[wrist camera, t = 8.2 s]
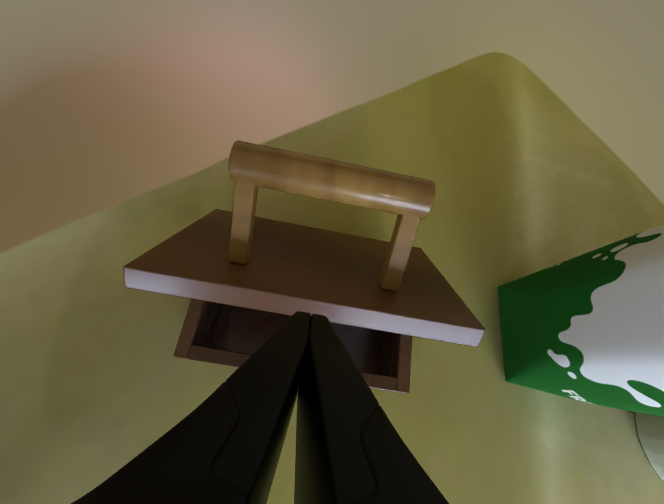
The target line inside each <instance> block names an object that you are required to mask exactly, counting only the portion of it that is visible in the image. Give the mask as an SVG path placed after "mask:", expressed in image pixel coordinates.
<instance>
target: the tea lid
mask: <svg viewBox="0 0 664 504" xmlns="http://www.w3.org/2000/svg"><path fill="white" fill-rule="evenodd" d="M229 175H230V179H231V180H232V181H233V182H235V189H234V201H233V212H229V211H223V210H218V209H215V210H214V211H212V212H210V213H209V214H207V215H206V216H204V217H202V218H201V219H199V220H198V221H196V222H194V223H193V224H191V225H189V226H188V227H186V228H185V229H183V230H181V231H180V232H178V233H177V234H175V235H173V236H172V237H170V238H168V239H167V240H165V241H164V242H162V243H160V244H159V245H157V246H156V247H154V248H152V249H151V250H149V251H147V252H146V253H144V254H143V255H141V256H139V257H138V258H136V259H135V260H133V261H131V262H130V263H128V264H126V265H125V266H124V267H123V271H124V286H125V287H126V288H132V289H138V290H144V291H150V292H156V293H162V294H168V295H173V296H179V297H185V298H191V299H197V300H203V301H209V302H215V303H220V304H226V305H232V306H238V307H244V308H250V309H256V310H262V311H268V312H273V313H279V314H285V315H291V316H292V315H293V314H294V313H295V312H297V311H301V312H307V313H310V314H311V315H312V314H318V315H324V316H326V317H327V318H328V320H329V322H332V323H338V324H344V325H350V326H356V327H362V328H368V329H373V330H379V331H385V332H391V333H397V334H403V335H409V336H415V337H420V338H426V339H432V340H438V341H444V342H450V343H456V344H462V345H468V346H473V347H478V346H479V343H480V341H481V339H482V337H483V334H484V332H485V328H484V327H483V326H482V324H481V323H480V322H479V321H478V319H477V318H476V317H475V316H474V314H473V313H472V312H471V311H470V309H469V308H468V307H467V306H466V304H465V303H464V302H463V301H462V299H461V298H460V297H459V296H458V294H457V293H456V292H455V291H454V289H453V288H452V287H451V286H450V284H449V283H448V282H447V281H446V279H445V278H444V277H443V276H442V274H441V273H440V272H439V271H438V269H437V268H436V267H435V266H434V264H433V263H432V262H431V260H430V259H429V258H428V257H427V255H426V254H425V253H424V252H423V250H422V249H421V248H417V247H412V245H413V242H414V238H415V235H416V232H417V229H418V225H419V222H420V219H424V218H426V217H427V215H428V214H429V212H430V210H431V208H432V206H433V203H434V199H435V191H436V188H435V183H434V182H433V181H431V180H427V179H422V178H417V177H412V176H407V175H402V174H398V173H393V172H388V171H383V170H378V169H373V168H369V167H364V166H359V165H354V164H349V163H344V162H340V161H335V160H330V159H325V158H320V157H315V156H311V155H306V154H301V153H296V152H291V151H286V150H282V149H277V148H272V147H267V146H262V145H257V144H252V143H248V142H243V141H236V142H235V143H234V144H233V147H232V149H231V153H230V158H229ZM258 187H263V188H268V189H273V190H278V191H283V192H288V193H293V194H298V195H303V196H308V197H313V198H318V199H323V200H329V201H334V202H339V203H344V204H349V205H354V206H359V207H364V208H369V209H374V210H379V211H384V212H389V213H394V214H398V216H397V220H396V223H395V227H394V230H393V234H392V238H391V241H390V242H386V241H381V240H375V239H370V238H365V237H360V236H354V235H349V234H344V233H339V232H333V231H328V230H323V229H318V228H312V227H307V226H302V225H297V224H291V223H286V222H281V221H276V220H271V219H265V218H260V217H255V212H256V203H257V194H258Z"/></svg>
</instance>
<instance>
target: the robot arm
mask: <svg viewBox="0 0 664 504" xmlns="http://www.w3.org/2000/svg"><path fill="white" fill-rule="evenodd" d="M298 388H299V389H298ZM297 392H298V399H297V427H296V460H295V493H294V504H449V503H448V502H447V500H446V499H445V498H444V496H443V495H442V494H441V492H440V491H439V490H438V488H437V487H436V486H435V484H434V483H433V482H432V480H431V479H430V478H429V476H428V475H427V474H426V472H425V471H424V470H423V468H422V467H421V466H420V464H419V463H418V462H417V460H416V459H415V457H414V456H413V455H412V453H411V452H410V450H409V449H408V448H407V446H406V445H405V443H404V442H403V441H402V439H401V438H400V436H399V435H398V433H397V431H396V430H395V428H394V427H393V425H392V424H391V422H390V421H389V419H388V417H387V416H386V414H385V412H384V411H383V409H382V407H381V406H379V403H378V401H377V399H376V398H375V396H374V394H373V393H372V391H371V389H370V388H369V386H368V385H367V383H366V381H365V380H364V378H363V376H362V375H361V373H360V371H359V370H358V368H357V366H356V365H355V363H354V361H353V360H352V358H351V356H350V355H349V353H348V351H347V350H346V348H345V346H344V345H343V343H342V342H341V340H340V338H339V337H338V335H337V333H336V332H335V330H334V328H333V327H332V325H331V323H330V322H329V320H328V318H327V317H326V316H324V315H318V314H312V315H311V314H310V313H307V312H301V311H297V312H295V313H294V314H293V315H292V316H291V317H290V318H289V319H288V320H287V321H286V322H285V323H284V324H283V325H282V326H281V327H280V328H279V329H278V330H277V331H276V332H275V333H274V334H273V335H272V336H271V337H270V338H269V339H268V340H267V341H266V342H265V343H264V344H263V345H262V346H261V347H259V348H258V349H257V350H256V351H255V352H254V353H253V354H252V355H251V356H250V357H249V358H248V359H247V360H246V361H245V362H244V363H243V364H242V365H241V366H240V367H239V368H238V369H237V370H236V371H235V372H234V373H233V374H232V375H231V376H230V377H229V378H228V379H227V380H226V382H224V383H223V384H222V385H221V386H220V387H219V388H217V389H216V390H215V391H214V392H213V393H212V394H211V395H210V396H209V397H208V398H207V399H206V400H205V401H204V402H203V403H202V404H200V405H199V406H198V407H197V408H196V409H195V410H194V411H193V412H191V413H190V414H189V415H188V416H187V417H185V418H184V419H183V420H182V421H180V422H179V423H178V424H177V425H176V426H174V427H173V428H172V429H171V430H169V431H168V432H167V433H166V434H164V435H163V436H162V437H160V438H159V439H158V440H157V441H155V442H154V443H153V444H152V445H150V446H149V447H148V448H146V449H145V450H144V451H143V452H141V453H140V454H139V455H138V456H136V457H135V458H134V459H132V460H131V461H130V462H129V463H127V464H126V465H125V466H124V467H122V468H121V469H120V470H118V471H117V472H116V473H115V474H113V475H112V476H111V477H109V478H108V479H107V480H106V481H104V482H103V483H102V484H100V485H99V486H98V487H96V488H95V489H93V490H92V491H90V492H89V493H87V494H86V495H84V496H83V497H81V498H79V499H78V500H76V501H74V502H73V503H71V504H266V503H267V499H268V496H269V492H270V489H271V485H272V482H273V478H274V475H275V471H276V468H277V464H278V461H279V457H280V454H281V450H282V447H283V443H284V439H285V436H286V432H287V429H288V425H289V422H290V418H291V415H292V411H293V408H294V404H295V401H296V397H297Z"/></svg>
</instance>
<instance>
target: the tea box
mask: <svg viewBox="0 0 664 504" xmlns="http://www.w3.org/2000/svg"><path fill="white" fill-rule="evenodd" d="M290 317H291V315H285V314H279V313H273V312H268V311H262V310H256V309H250V308H244V307H238V306H232V305H226V304H220V303H215V302H209V301H203V300H197V299H191V302H190V305H189V309H188V312H187V315H186V318H185V321H184V324H183V327H182V330H181V333H180V337H179V340H178V343H177V346H176V349H175V352H174V355H173V356H174V357H178V358H184V359H190V360H197V361H203V362H210V363H216V364H222V365H229V366H235V367H240V366H241V365H242V364H243V363H244V362H245V361H246V360H247V359H248V358H249V357H250V356H251V355H252V354H253V353H254V352H255V351H256V350H257V349H258V348H259V347H261V346H262V345H263V344H264V343H265V342H266V341H267V340H268V339H269V338H270V337H271V336H272V335H273V334H274V333H275V332H276V331H277V330H278V329H279V328H280V327H281V326H282V325H283V324H284V323H285V322H286V321H287V320H288V319H289V318H290ZM330 323H331V325H332V327H333V328H334V330H335V332H336V333H337V335H338V337H339V338H340V340H341V342H342V343H343V345H344V346H345V348H346V350H347V351H348V353H349V355H350V356H351V358H352V360H353V361H354V363H355V365H356V366H357V368H358V370H359V371H360V373H361V375H362V376H363V378H364V380H365V381H366V383H367V385H368V386H369V388H376V389H382V390H388V391H395V392H401V393H409V386H410V366H411V346H412V336H409V335H403V334H397V333H391V332H385V331H379V330H373V329H368V328H362V327H356V326H350V325H344V324H338V323H332V322H330Z"/></svg>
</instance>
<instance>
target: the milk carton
mask: <svg viewBox="0 0 664 504" xmlns="http://www.w3.org/2000/svg"><path fill="white" fill-rule="evenodd" d="M498 294H499V306H500V318H501V330H502V343H503V355H504V367H505V379H506V382H510V383H514V384H518V385H522V386H526V387H530V388H533V389H537V390H541V391H545V392H548V393H552V394H556V395H560V396H564V397H567V398H571V399H575V400H579V401H583V402H587V403H591V404H596V405H601V406H606V407H612V408H618V409H623V410H628V411H633V412H637V413H644V414H651V415H658V416H664V224H662V225H660V226H657V227H655V228H652V229H649V230H647V231H644V232H641V233H639V234H636V235H633V236H631V237H628V238H625V239H623V240H620V241H617V242H615V243H612V244H610V245H607V246H604V247H602V248H599V249H596V250H594V251H591V252H588V253H586V254H583V255H580V256H578V257H575V258H572V259H570V260H567V261H564V262H562V263H559V264H556V265H554V266H551V267H549V268H546V269H543V270H541V271H538V272H536V273H533V274H530V275H528V276H525V277H523V278H520V279H517V280H515V281H512V282H510V283H507V284H504V285H502V286H499V287H498Z"/></svg>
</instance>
